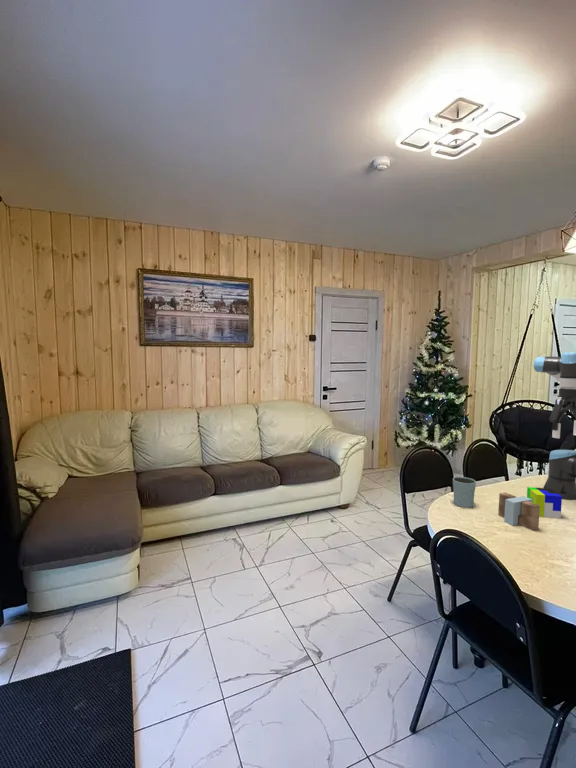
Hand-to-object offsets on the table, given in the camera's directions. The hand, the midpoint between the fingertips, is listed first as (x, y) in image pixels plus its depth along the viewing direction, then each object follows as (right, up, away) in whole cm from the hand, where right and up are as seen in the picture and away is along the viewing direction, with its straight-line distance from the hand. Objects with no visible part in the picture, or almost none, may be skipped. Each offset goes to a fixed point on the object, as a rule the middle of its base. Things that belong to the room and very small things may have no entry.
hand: (566, 436), depth 164 cm
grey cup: (-37, -35, +18) cm, 54 cm away
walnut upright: (-22, -37, -1) cm, 43 cm away
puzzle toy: (-5, -36, +9) cm, 37 cm away
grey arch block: (-22, -37, -1) cm, 43 cm away
